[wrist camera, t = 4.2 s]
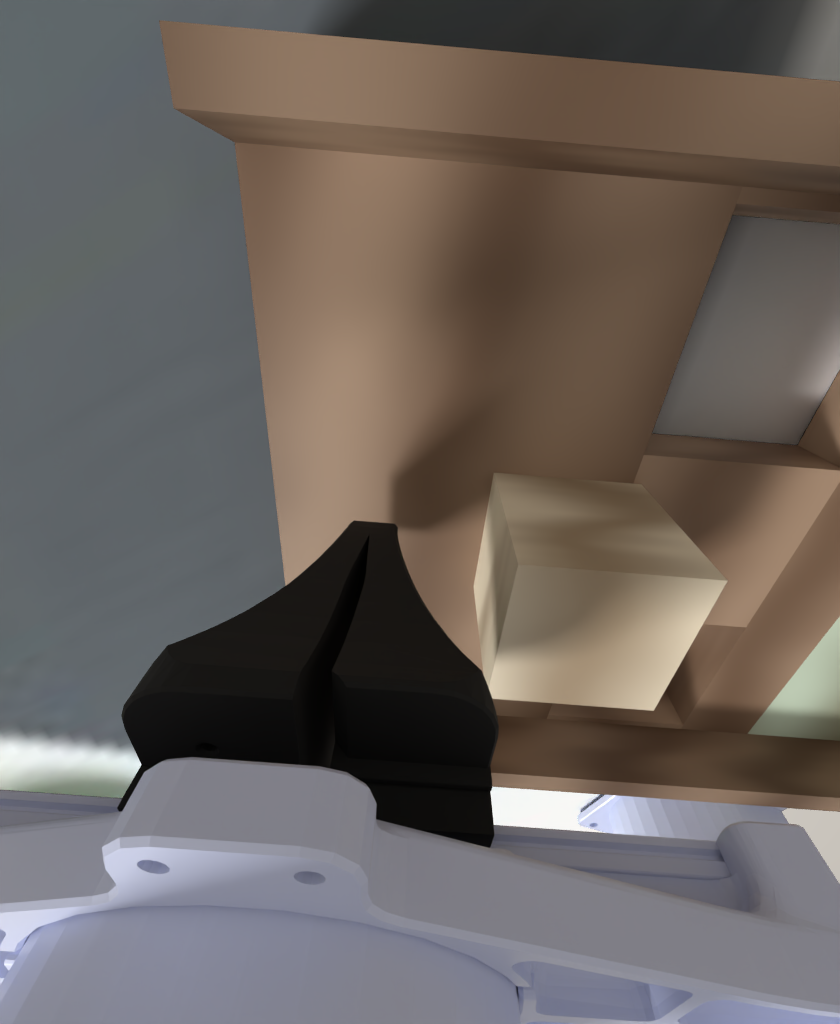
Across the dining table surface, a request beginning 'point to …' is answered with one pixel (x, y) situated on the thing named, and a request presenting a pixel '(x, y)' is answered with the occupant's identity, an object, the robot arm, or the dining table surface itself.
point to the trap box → (538, 356)
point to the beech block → (586, 592)
